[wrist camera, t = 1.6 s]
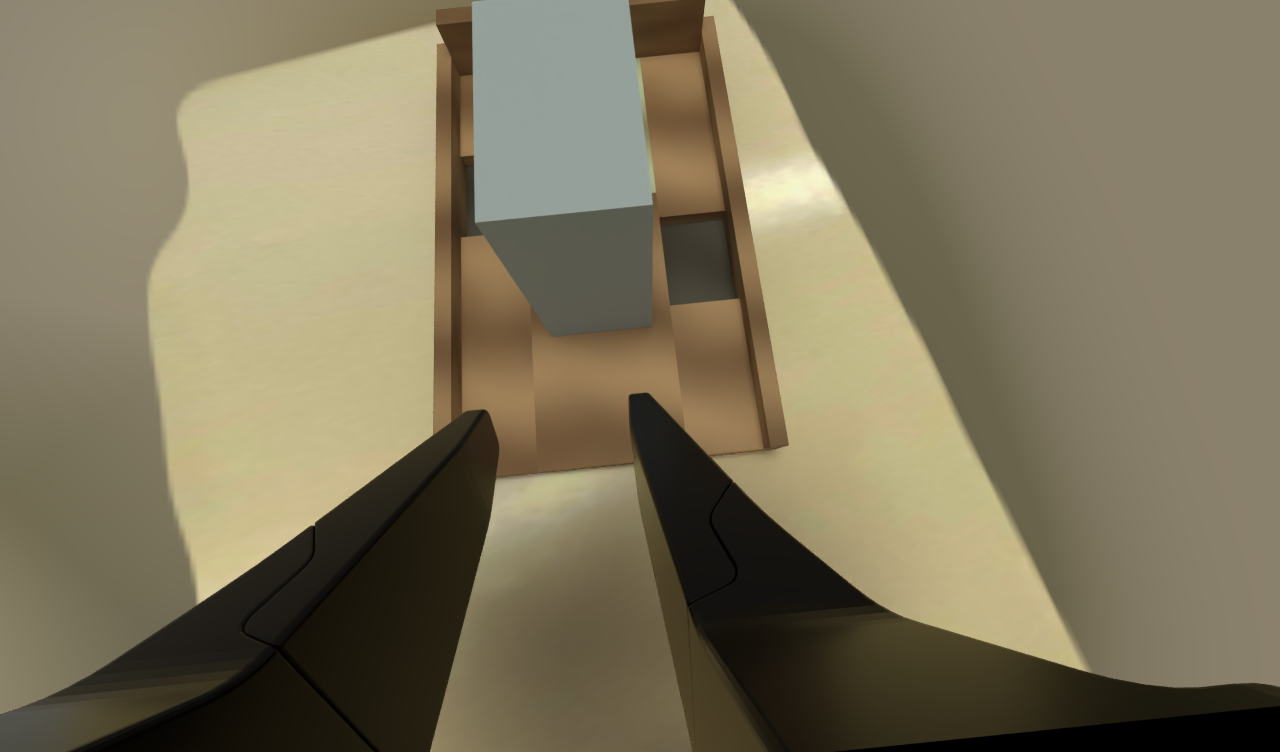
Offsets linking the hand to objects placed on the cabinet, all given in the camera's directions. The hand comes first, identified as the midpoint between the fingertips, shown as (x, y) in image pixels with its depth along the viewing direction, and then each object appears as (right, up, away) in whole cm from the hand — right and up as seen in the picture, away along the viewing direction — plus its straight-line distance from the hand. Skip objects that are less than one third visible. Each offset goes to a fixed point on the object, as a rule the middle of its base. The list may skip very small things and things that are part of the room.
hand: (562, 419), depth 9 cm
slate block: (-1, +7, +14) cm, 16 cm away
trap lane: (-1, +8, +15) cm, 17 cm away
